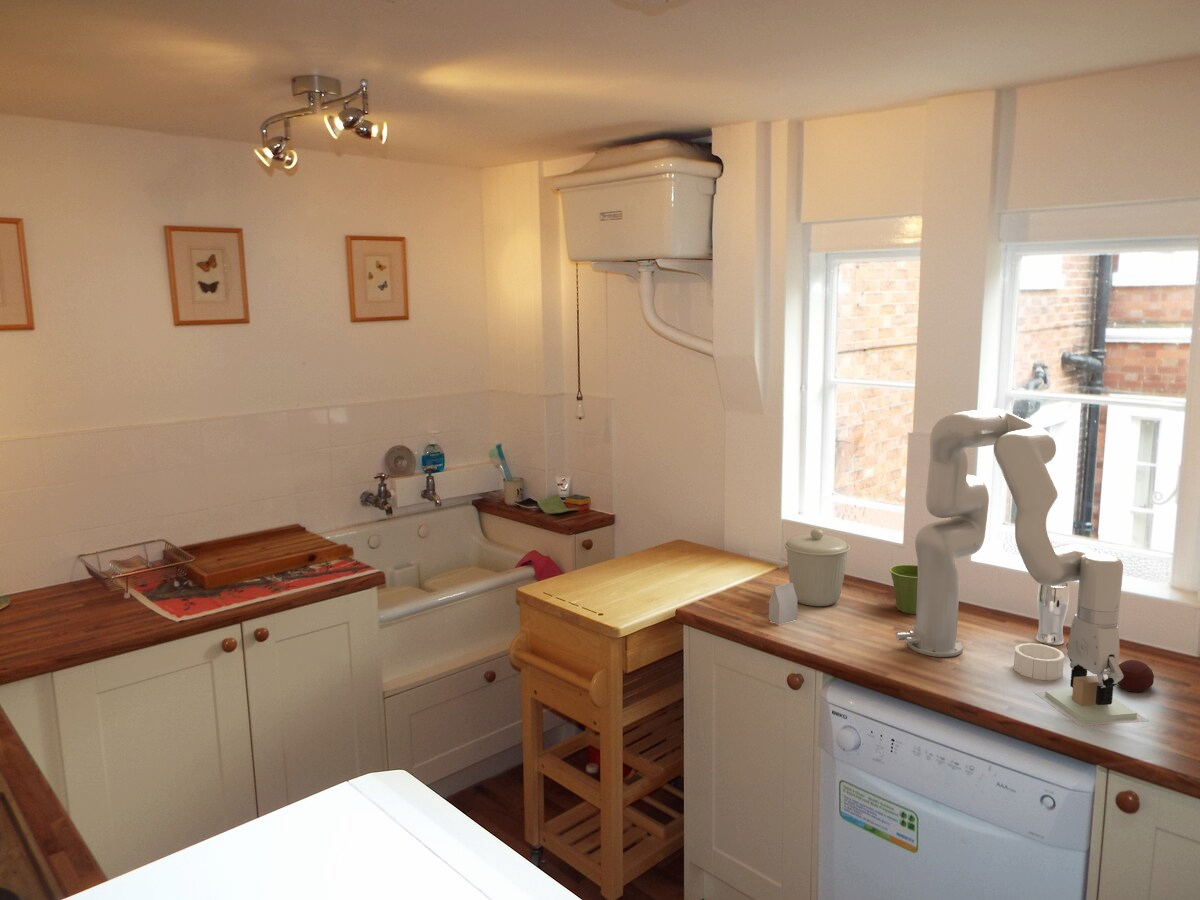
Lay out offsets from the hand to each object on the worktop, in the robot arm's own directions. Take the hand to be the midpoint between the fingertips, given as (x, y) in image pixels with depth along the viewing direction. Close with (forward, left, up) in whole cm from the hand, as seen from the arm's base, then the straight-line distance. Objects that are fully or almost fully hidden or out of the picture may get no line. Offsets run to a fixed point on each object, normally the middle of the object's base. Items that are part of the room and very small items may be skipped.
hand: (1090, 694), depth 183 cm
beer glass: (+14, +35, -3) cm, 38 cm away
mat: (0, 0, -3) cm, 3 cm away
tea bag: (-47, +58, -3) cm, 75 cm away
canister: (-33, +72, -3) cm, 79 cm away
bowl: (0, +18, -3) cm, 18 cm away
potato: (+15, +7, -3) cm, 17 cm away
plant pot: (-10, +61, -3) cm, 62 cm away
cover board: (0, 0, -3) cm, 3 cm away
